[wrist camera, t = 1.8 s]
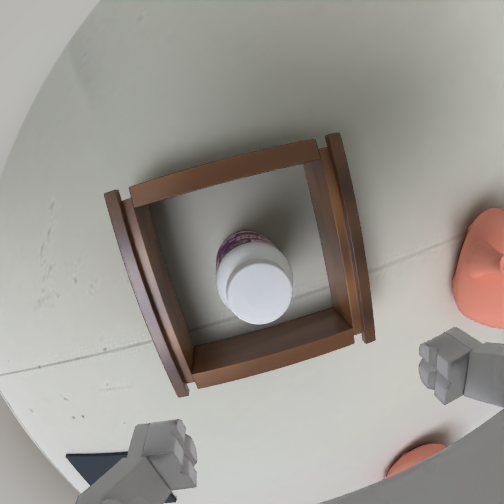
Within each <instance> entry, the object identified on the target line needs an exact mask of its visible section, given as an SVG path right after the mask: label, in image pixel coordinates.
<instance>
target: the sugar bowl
mask: <svg viewBox="0 0 504 504" xmlns="http://www.w3.org/2000/svg"><path fill="white" fill-rule="evenodd" d="M446 447H447V446H445V445H443V444H426V445H422V446H420V447H418V448H415V449H414V450H412V451H408V452H405V453H404V454H403V455H402V456H401V457H400V459H399V460H398V461H397V462H396V463H395V464H394V465H393V466H392V467H391V469H390V470H389V472H388V473H387V476H386V478H388V477H390V476H392V475H395V474H397V473H399V472H401V471H403V470H405V469H407V468H409V467H411V466H413V465H415V464H417V463H419V462H421V461H423V460H425V459H427V458H428V457H430V456H432V455H434V454H436V453H437V452H439V451H441V450H443V449H444V448H446ZM386 478H385V479H386Z"/></svg>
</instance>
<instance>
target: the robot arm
mask: <svg viewBox="0 0 504 504" xmlns="http://www.w3.org/2000/svg"><path fill="white" fill-rule="evenodd" d="M419 355H420V356H421V357H422V360H421V362H420V364H419V375H420V378H421V380H422V382H423V384H424V385H425V386H426V387H427V388H429V389H433V390H435V391H434V395H435V396H436V397H437V398H438V399H439V400H440V401H441V402H442V403H443V404H444V405H446V404H448V403H449V402H451V401H453V400H455V399H457V398H458V397H460V396H462V395H464V396H466V397H469V398H473V399H476V400H479V401H483V402H486V403H490V404H493V405H496V406H500V407H504V344H499V343H487V342H486V343H484V344H482V343H481V342H479V341H477V340H476V339H474V338H473V337H471V336H470V335H468V334H467V333H465V332H463V331H462V330H460V329H459V328H457V327H453V328H451V329H449V330H448V331H446V332H444V333H443V334H441V335H439V336H437V337H435V338H433V339H431V340H429V341H427V342H424V343H422V344H421V345H420V348H419ZM185 431H186V427H185V425H184V424H183V422H182V420H180V419H177V420H169V421H162V422H154V423H147V424H138V425H137V426H135V429H134V432H133V436H132V440H131V443H130V447H129V450H128V454H127V458H122V459H121V460H120V461H119V462H117V463H116V464H115V465H114V466H113V467H112V468H111V469H110V470H108V471H107V472H106V473H105V474H104V475H103V476H102V477H100V478H99V479H98V480H97V481H96V482H95V483H93V484H92V485H91V486H90V487H89V488H88V489H86V490H85V491H84V492H83V493H82V494H80V495H79V496H78V498H77V501H76V504H163V503H164V502H165V501H166V499H167V498H168V496H169V495H170V494H171V492H172V491H171V490H178V489H186V488H194V487H196V484H197V472H196V470H195V468H194V465H195V464H196V463H197V453H196V448H195V445H194V442H193V440H192V438H191V437H190V436H188V435H187V434H185ZM318 504H504V409H503V410H501V411H500V412H499V413H497V414H496V415H495V416H493V417H492V418H490V419H489V420H488V421H486V422H485V423H483V424H482V425H481V426H479V427H478V428H476V429H475V430H473V431H472V432H470V433H469V434H467V435H466V436H464V437H462V438H461V439H459V440H458V441H456V442H454V443H453V444H451V445H449V446H448V447H446V448H444V449H443V450H441V451H439V452H437V453H436V454H434V455H432V456H430V457H428V458H427V459H425V460H423V461H421V462H419V463H417V464H415V465H413V466H411V467H409V468H407V469H405V470H403V471H401V472H399V473H397V474H395V475H392V476H390V477H388V478H386V479H383V480H381V481H379V482H376V483H374V484H372V485H369V486H367V487H364V488H362V489H359V490H356V491H354V492H351V493H348V494H345V495H343V496H340V497H337V498H334V499H331V500H328V501H325V502H321V503H318Z"/></svg>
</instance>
